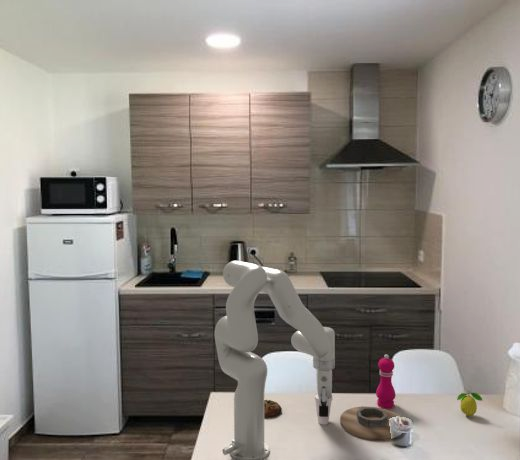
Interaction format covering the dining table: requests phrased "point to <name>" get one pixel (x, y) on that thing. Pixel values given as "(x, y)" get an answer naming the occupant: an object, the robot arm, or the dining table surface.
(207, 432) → the dining table surface
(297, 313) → the robot arm
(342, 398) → the dining table surface
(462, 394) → the lemon
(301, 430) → the dining table surface
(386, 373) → the pepper mill
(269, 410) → the bread roll
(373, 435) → the carrier plate
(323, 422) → the smoothie
